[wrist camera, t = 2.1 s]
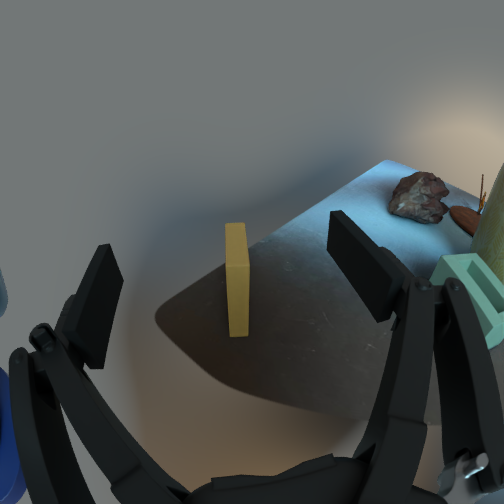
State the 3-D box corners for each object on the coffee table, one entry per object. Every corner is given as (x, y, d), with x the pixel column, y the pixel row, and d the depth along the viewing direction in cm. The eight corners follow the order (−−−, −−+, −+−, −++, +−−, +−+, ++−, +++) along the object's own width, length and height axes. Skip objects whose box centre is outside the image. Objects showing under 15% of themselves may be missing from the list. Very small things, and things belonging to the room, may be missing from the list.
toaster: (496, 346, 24) (523, 312, 20) (462, 363, 23) (493, 327, 19) (455, 282, 35) (472, 249, 31) (419, 288, 34) (437, 250, 30)
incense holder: (450, 227, 50) (464, 185, 44) (447, 192, 70) (456, 162, 63) (514, 261, 40) (532, 222, 34) (497, 216, 60) (507, 187, 53)
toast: (248, 336, 28) (249, 265, 23) (229, 337, 28) (225, 266, 22) (244, 291, 34) (244, 222, 28) (228, 292, 34) (225, 223, 28)
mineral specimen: (389, 222, 60) (445, 221, 52) (388, 227, 49) (456, 227, 41) (386, 174, 58) (442, 173, 50) (384, 169, 47) (452, 168, 39)
